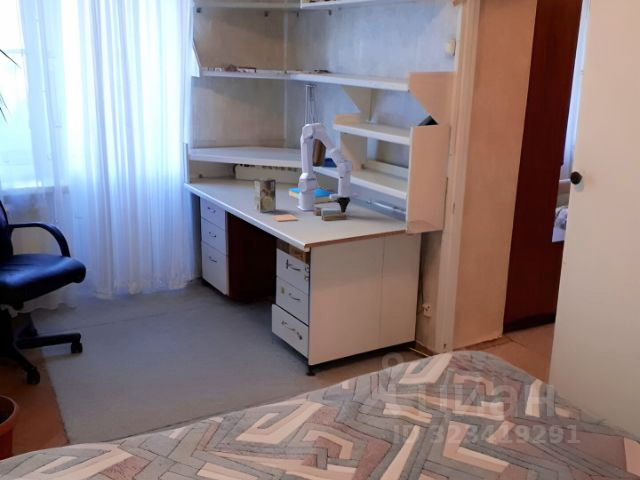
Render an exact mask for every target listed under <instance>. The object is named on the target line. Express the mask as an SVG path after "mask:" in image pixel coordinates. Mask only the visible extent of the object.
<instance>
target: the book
mask: <svg viewBox="0 0 640 480" xmlns="http://www.w3.org/2000/svg"><path fill="white" fill-rule="evenodd" d="M299 193H300V190H299V188H298V187H294V188H293V187H292V188H288V195H289V196H290V197H294V198H295V199H298V200H299ZM331 194H334V192H330V191H327V190H324V189H322V188H318V187H317V189H315V204H318V203H319V204H320V203H321V202H322V203H329V202H328V201H331V202H335V201H334V200H337V199H330V195H331ZM337 201H338V200H337Z"/></svg>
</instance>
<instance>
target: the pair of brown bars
mask: <svg viewBox="0 0 640 480" xmlns="http://www.w3.org/2000/svg"><path fill="white" fill-rule="evenodd" d="M321 210H322V209H317V210H313V215H314V216H321ZM347 219H348V214H347V213H339V214H332V215H322V216H321V220H322V221H323V222H324V221H327V222H328V221H340V220H347Z"/></svg>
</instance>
